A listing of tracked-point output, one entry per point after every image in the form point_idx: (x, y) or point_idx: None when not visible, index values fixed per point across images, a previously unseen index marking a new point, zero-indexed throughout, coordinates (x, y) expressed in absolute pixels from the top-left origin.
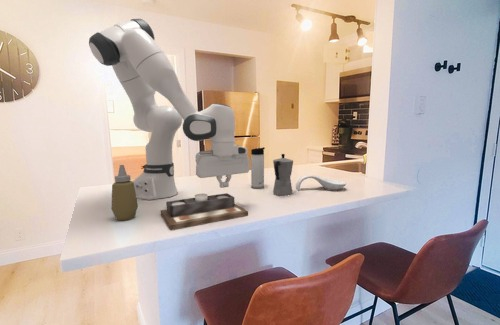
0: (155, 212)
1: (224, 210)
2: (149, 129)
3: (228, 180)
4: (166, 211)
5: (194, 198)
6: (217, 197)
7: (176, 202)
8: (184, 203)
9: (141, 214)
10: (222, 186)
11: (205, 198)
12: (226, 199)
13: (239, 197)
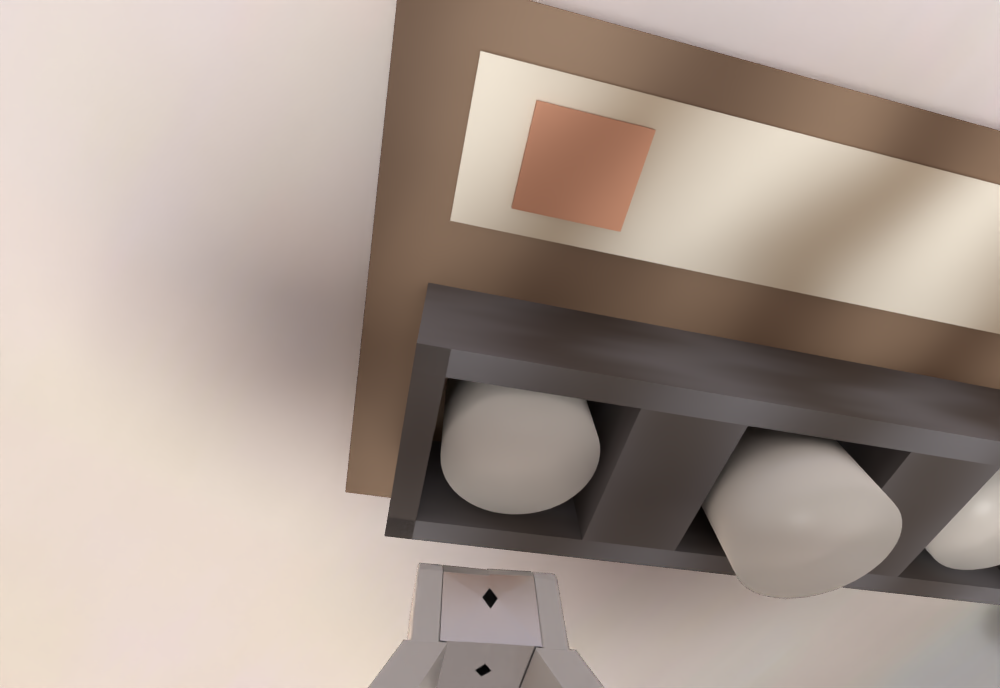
0: None
1: (642, 216)
2: None
3: (412, 681)
4: None
5: None
6: (570, 483)
7: (970, 562)
8: (970, 501)
9: None
10: (542, 585)
11: (809, 465)
12: (545, 355)
13: (157, 547)
